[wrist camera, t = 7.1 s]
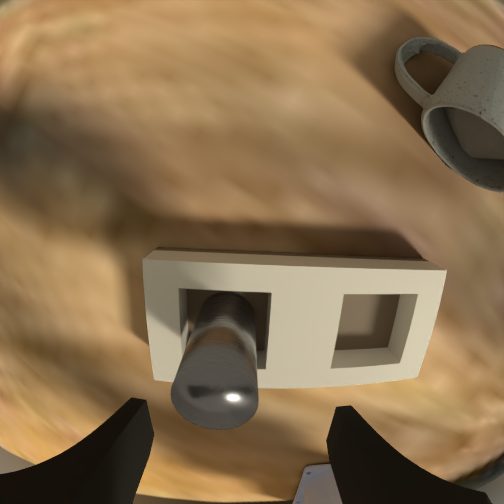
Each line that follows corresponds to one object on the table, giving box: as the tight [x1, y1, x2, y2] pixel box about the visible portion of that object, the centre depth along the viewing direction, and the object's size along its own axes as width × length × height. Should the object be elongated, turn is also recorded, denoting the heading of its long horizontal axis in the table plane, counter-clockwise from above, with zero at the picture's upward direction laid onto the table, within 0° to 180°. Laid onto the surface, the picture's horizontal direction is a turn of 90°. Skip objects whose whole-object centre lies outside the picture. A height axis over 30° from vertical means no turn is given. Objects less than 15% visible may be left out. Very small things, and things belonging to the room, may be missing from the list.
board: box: [142, 247, 447, 388], centre depth 18 cm, size 8×18×3 cm, turn 87°
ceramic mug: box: [394, 37, 504, 193], centre depth 12 cm, size 11×8×8 cm
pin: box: [171, 292, 258, 430], centre depth 15 cm, size 4×4×8 cm
